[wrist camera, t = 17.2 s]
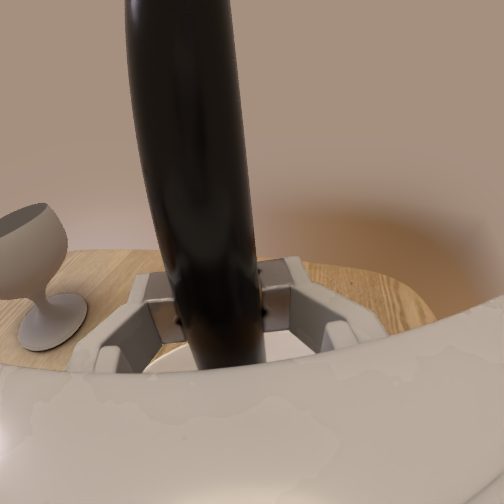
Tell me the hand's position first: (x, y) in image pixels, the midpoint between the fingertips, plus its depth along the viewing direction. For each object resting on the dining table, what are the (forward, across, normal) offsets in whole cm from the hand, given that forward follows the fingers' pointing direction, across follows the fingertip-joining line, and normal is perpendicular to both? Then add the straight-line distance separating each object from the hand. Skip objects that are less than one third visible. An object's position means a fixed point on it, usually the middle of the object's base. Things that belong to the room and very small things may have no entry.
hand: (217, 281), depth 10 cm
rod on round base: (-2, 0, +10) cm, 10 cm away
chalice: (+17, +25, +17) cm, 35 cm away
